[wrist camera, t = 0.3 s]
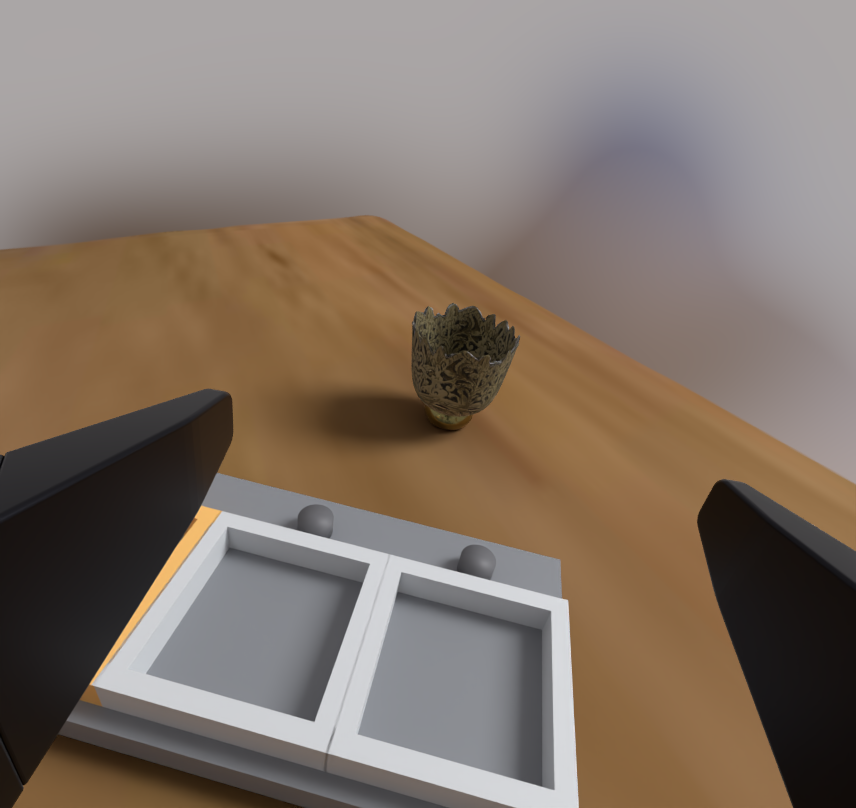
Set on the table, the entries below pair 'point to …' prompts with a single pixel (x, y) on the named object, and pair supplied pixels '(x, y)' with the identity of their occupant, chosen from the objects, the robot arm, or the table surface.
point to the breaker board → (344, 661)
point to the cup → (459, 362)
